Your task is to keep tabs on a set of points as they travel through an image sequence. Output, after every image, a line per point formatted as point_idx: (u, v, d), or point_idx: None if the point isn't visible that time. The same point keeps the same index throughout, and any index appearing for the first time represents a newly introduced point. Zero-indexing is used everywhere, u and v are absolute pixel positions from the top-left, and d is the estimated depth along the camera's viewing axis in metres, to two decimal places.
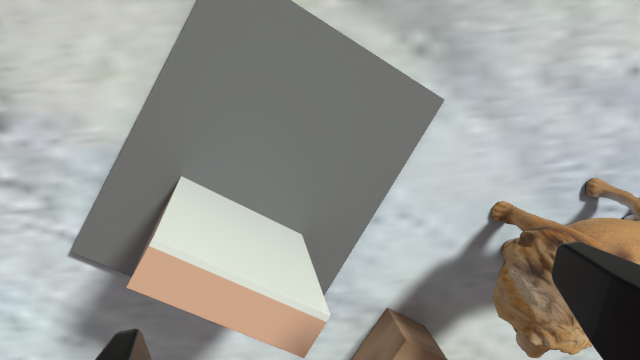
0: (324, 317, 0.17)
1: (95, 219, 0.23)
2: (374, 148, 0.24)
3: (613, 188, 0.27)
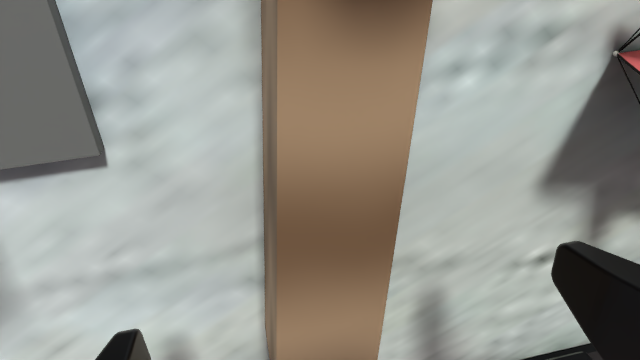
0: None
1: None
2: None
3: None
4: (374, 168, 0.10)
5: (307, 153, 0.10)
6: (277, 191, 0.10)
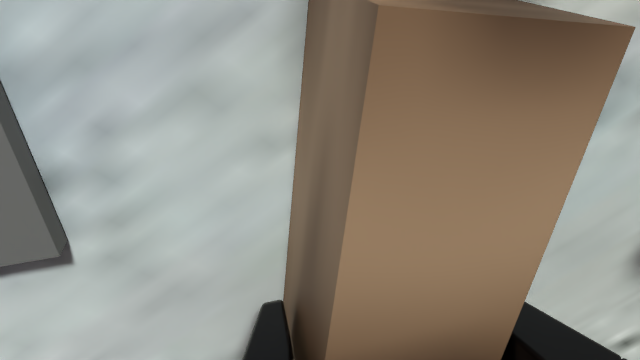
0: None
1: None
2: None
3: None
4: (477, 308, 0.07)
5: (382, 290, 0.06)
6: (327, 341, 0.06)
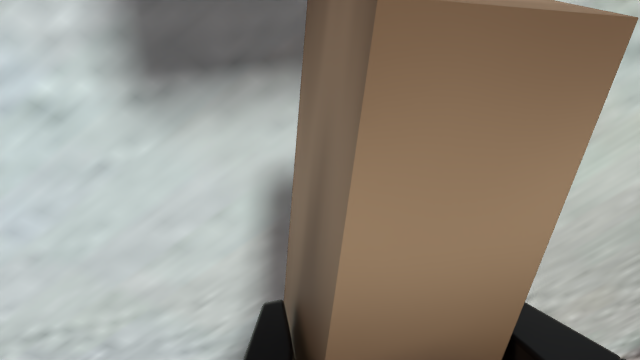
0: None
1: None
2: None
3: None
4: (479, 303, 0.07)
5: (383, 286, 0.06)
6: (328, 337, 0.06)
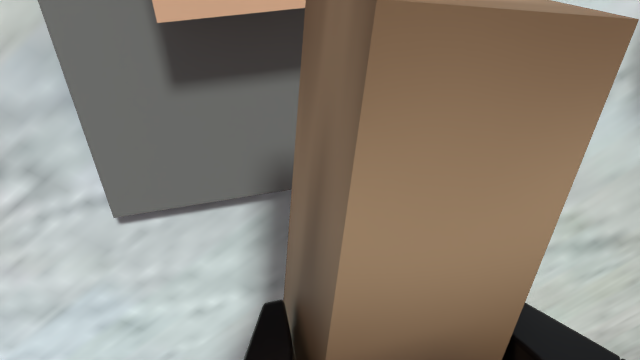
0: None
1: (106, 158, 0.14)
2: None
3: None
4: (478, 305, 0.07)
5: (382, 289, 0.06)
6: (328, 340, 0.06)
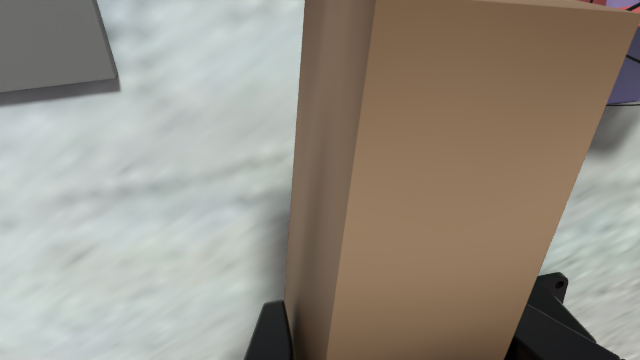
0: None
1: None
2: None
3: None
4: (481, 304, 0.07)
5: (384, 287, 0.06)
6: (328, 339, 0.06)
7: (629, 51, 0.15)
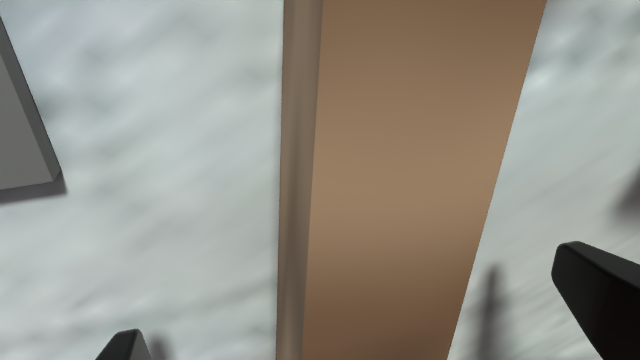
0: None
1: None
2: None
3: None
4: (436, 248, 0.08)
5: (350, 232, 0.07)
6: (306, 280, 0.07)
7: None
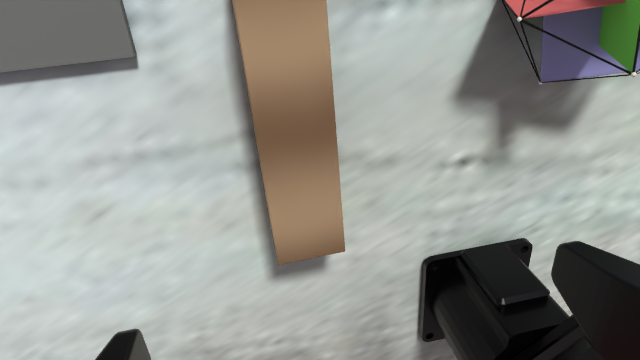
0: None
1: None
2: None
3: None
4: (311, 79, 0.16)
5: (265, 72, 0.16)
6: (251, 100, 0.16)
7: (566, 35, 0.18)
